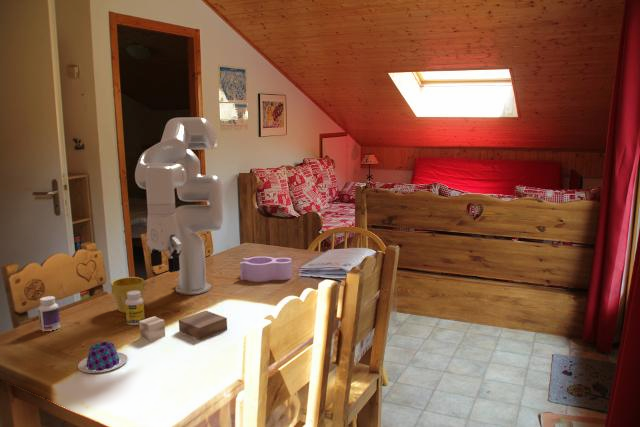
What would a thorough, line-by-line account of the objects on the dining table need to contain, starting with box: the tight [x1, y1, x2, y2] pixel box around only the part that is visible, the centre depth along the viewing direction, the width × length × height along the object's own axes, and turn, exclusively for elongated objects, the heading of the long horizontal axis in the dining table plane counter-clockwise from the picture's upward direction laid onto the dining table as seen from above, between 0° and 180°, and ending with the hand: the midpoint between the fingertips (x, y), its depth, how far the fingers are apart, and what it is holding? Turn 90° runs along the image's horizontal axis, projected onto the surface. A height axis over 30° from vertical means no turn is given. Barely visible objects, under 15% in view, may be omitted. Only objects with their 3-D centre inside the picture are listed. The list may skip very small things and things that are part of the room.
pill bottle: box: [37, 295, 61, 332], centre depth 160 cm, size 5×5×10 cm
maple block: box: [138, 315, 166, 342], centre depth 154 cm, size 5×5×5 cm
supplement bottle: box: [125, 290, 146, 326], centre depth 165 cm, size 5×5×10 cm
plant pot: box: [110, 276, 145, 314], centre depth 176 cm, size 10×10×10 cm
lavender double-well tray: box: [239, 256, 293, 283], centre depth 211 cm, size 20×12×7 cm, turn 88°
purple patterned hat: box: [77, 341, 128, 374], centre depth 137 cm, size 12×12×5 cm
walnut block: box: [178, 310, 228, 341], centre depth 158 cm, size 10×10×4 cm
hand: (165, 268), depth 152 cm, fingers open, 9 cm apart
